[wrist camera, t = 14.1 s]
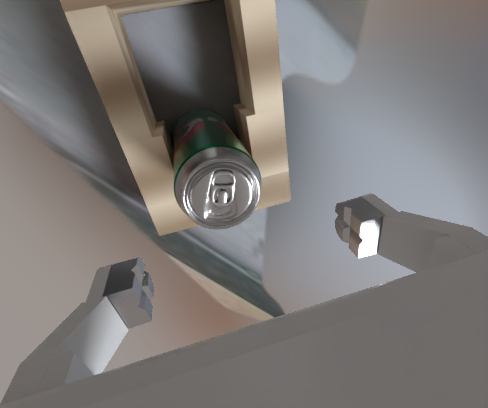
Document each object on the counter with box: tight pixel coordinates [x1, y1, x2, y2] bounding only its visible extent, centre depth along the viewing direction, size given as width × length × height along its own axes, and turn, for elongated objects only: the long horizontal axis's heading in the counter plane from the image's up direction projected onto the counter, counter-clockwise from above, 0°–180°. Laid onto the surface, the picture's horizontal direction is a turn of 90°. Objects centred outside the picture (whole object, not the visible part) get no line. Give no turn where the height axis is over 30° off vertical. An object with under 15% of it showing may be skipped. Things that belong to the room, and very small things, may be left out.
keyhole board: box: [59, 0, 291, 236], centre depth 21 cm, size 18×12×5 cm, turn 9°
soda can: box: [174, 109, 261, 229], centre depth 19 cm, size 5×5×12 cm
